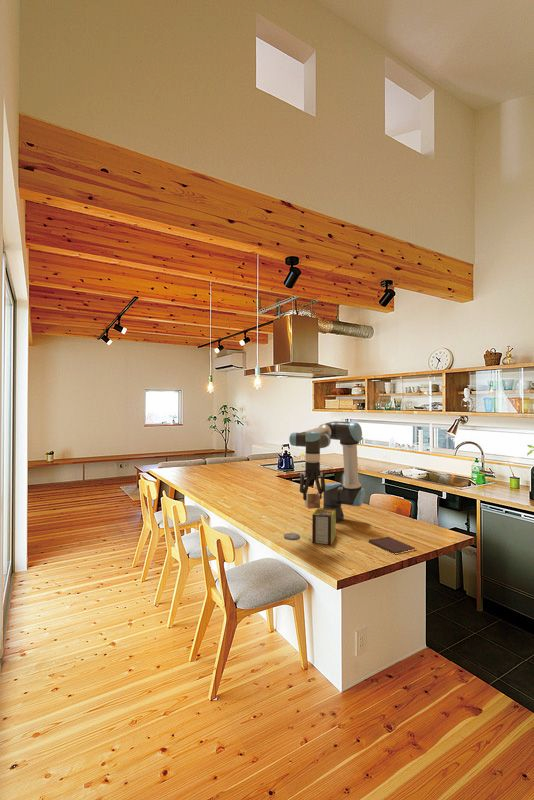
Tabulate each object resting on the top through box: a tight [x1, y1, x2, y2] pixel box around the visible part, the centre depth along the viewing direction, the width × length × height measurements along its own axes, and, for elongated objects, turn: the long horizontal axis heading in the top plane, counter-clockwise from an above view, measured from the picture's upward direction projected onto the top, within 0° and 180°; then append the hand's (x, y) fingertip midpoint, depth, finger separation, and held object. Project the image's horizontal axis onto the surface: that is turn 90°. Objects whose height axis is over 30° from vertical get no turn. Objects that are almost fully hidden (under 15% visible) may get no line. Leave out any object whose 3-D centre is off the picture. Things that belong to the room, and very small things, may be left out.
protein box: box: [311, 507, 337, 546], centre depth 218 cm, size 10×15×16 cm
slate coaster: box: [283, 532, 301, 541], centre depth 221 cm, size 9×9×1 cm
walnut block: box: [306, 493, 321, 510], centre depth 205 cm, size 6×6×6 cm
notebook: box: [368, 536, 416, 555], centre depth 209 cm, size 15×20×2 cm
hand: (312, 505), depth 205 cm, fingers closed on walnut block, 6 cm apart
